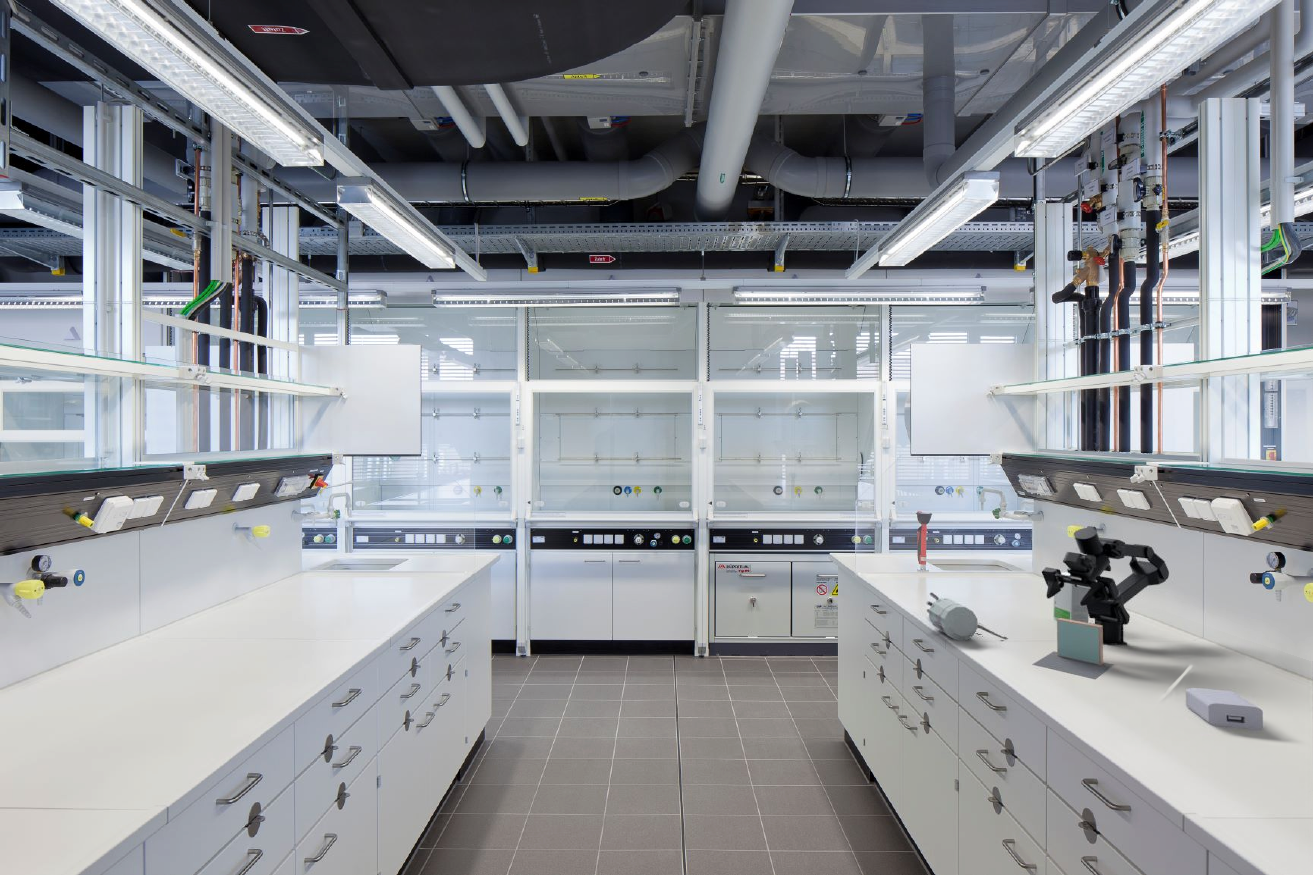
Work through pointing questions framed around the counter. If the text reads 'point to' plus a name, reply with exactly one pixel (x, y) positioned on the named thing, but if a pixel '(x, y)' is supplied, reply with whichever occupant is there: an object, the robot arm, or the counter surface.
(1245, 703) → the charger
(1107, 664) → the mat
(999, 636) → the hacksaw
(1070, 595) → the skincare box
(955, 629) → the device
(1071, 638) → the tile
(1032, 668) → the counter surface
